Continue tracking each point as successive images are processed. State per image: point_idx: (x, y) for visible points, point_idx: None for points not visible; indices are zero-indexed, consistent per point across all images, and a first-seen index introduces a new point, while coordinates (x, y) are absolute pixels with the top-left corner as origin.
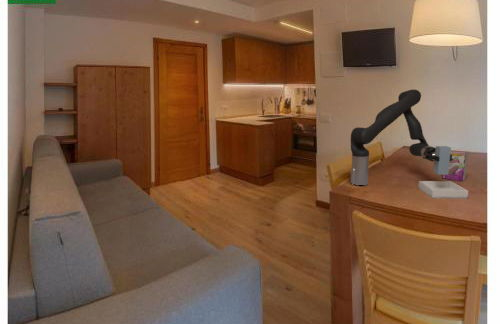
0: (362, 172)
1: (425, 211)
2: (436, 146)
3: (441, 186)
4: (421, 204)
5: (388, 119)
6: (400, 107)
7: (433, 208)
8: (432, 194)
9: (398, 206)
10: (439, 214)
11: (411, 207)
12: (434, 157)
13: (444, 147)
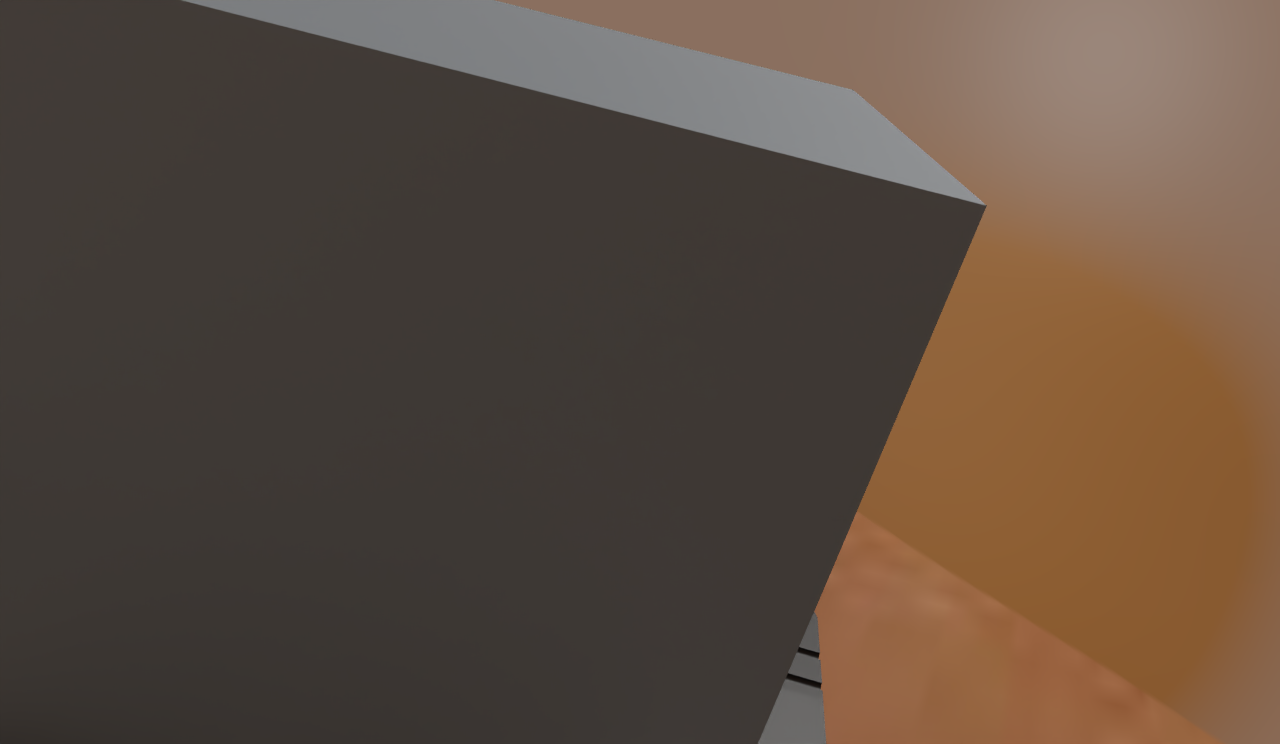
0: None
1: (943, 574)
2: (943, 176)
3: None
4: (945, 701)
5: None
6: None
7: (862, 599)
8: None
9: (1169, 715)
10: (860, 516)
11: (1048, 665)
12: (816, 739)
13: (610, 32)
